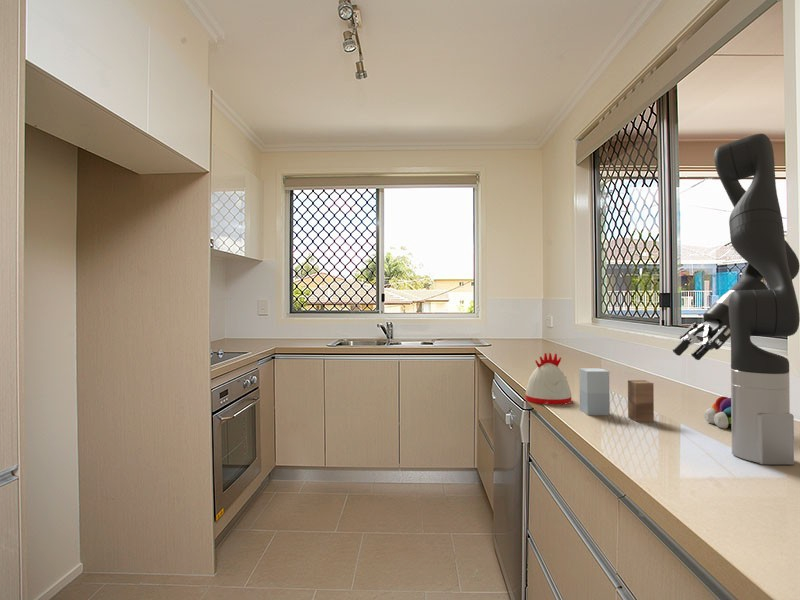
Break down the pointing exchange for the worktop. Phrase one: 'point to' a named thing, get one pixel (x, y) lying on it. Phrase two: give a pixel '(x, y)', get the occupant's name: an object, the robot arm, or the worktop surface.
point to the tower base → (595, 403)
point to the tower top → (594, 380)
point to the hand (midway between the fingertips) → (684, 355)
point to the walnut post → (640, 401)
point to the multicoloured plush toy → (719, 412)
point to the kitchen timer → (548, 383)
